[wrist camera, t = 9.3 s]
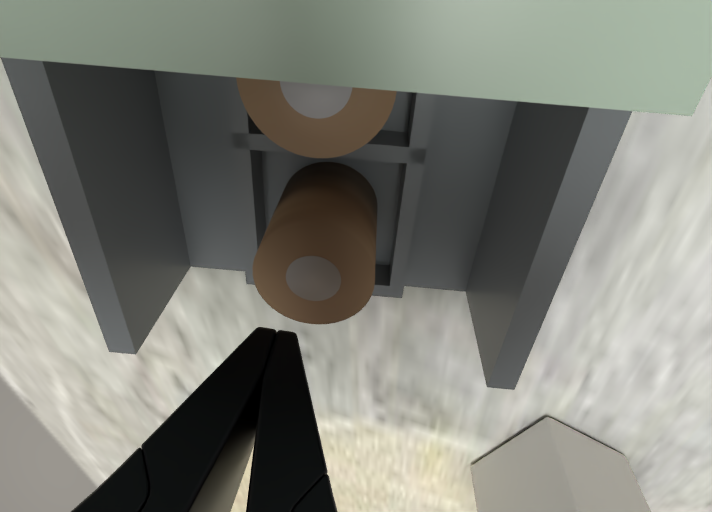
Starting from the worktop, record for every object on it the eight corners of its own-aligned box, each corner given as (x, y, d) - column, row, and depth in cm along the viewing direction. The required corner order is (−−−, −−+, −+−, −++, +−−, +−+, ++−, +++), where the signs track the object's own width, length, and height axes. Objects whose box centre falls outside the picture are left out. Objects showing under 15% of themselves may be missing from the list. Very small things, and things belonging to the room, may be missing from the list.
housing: (102, -120, 14) (-80, -162, 8) (589, -81, 13) (720, -98, 8) (177, 252, 22) (109, 351, 16) (483, 280, 22) (514, 389, 16)
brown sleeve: (284, 243, 20) (256, 320, 16) (279, 158, 17) (246, 221, 13) (374, 249, 20) (370, 329, 15) (381, 165, 17) (379, 231, 13)
